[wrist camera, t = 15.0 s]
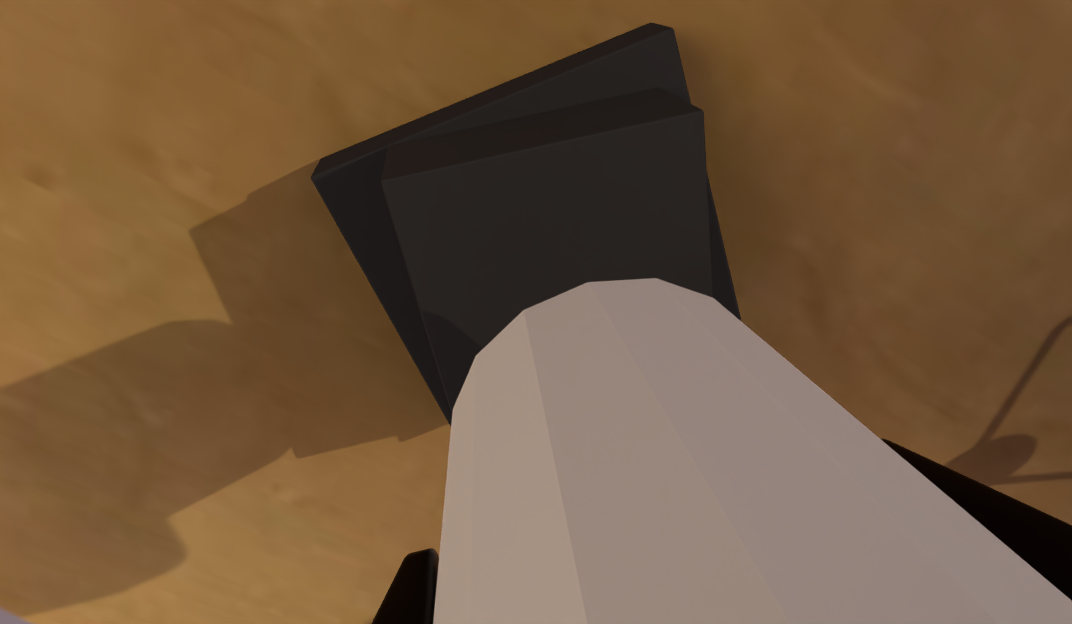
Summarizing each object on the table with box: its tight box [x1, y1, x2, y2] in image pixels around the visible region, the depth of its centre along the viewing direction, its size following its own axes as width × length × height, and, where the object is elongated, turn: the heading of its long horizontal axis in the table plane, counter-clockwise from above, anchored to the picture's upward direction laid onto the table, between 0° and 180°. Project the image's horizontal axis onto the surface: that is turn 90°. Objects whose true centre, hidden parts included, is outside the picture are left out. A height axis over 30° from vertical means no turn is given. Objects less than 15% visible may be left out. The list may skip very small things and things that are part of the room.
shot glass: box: [433, 278, 1072, 624], centre depth 8 cm, size 7×7×7 cm
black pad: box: [381, 87, 712, 413], centre depth 16 cm, size 8×6×3 cm
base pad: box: [311, 23, 741, 426], centre depth 18 cm, size 9×9×2 cm
